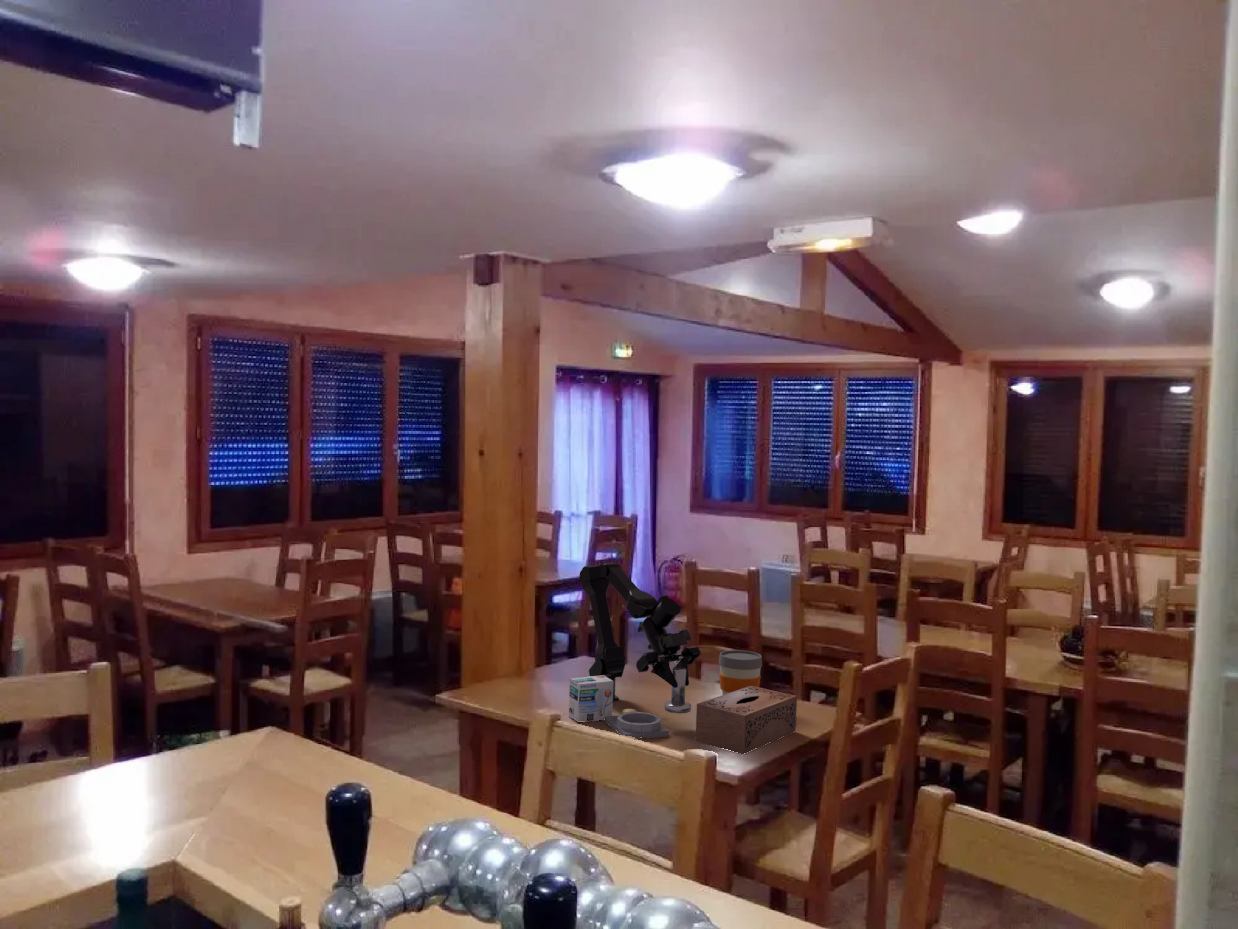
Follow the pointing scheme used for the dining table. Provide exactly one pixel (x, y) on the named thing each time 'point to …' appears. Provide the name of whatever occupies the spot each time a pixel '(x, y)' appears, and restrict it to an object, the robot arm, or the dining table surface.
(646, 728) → the carrier plate
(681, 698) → the metal flanged shaft
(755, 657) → the reusable coffee cup
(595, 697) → the light bulb box
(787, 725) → the tissue box cover
